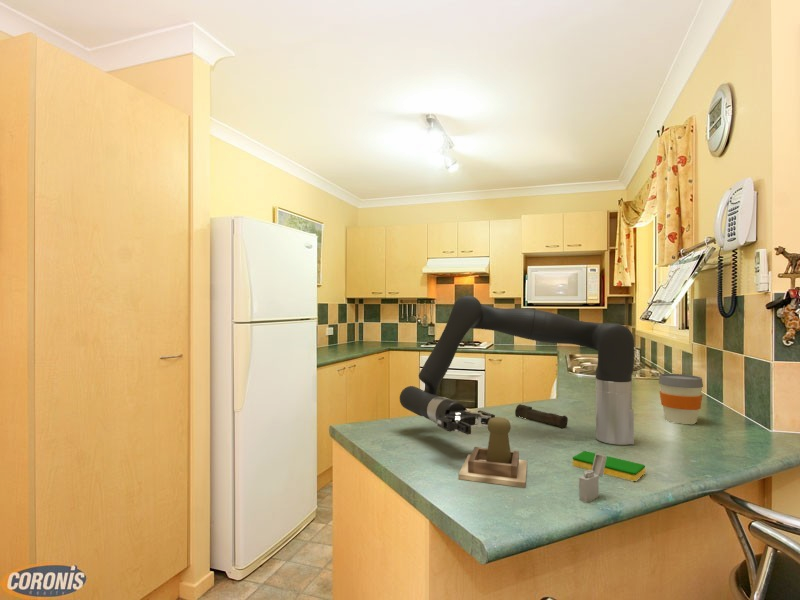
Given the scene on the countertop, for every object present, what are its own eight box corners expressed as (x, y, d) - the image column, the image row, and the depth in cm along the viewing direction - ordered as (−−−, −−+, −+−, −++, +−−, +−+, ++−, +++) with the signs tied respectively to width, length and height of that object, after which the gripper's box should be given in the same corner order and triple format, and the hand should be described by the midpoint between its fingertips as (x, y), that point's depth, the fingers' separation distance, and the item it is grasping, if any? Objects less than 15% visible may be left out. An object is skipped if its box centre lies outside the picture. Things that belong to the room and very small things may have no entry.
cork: (483, 469, 97) (483, 420, 97) (487, 460, 103) (487, 414, 103) (511, 472, 95) (511, 422, 95) (513, 463, 100) (513, 416, 101)
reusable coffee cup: (712, 426, 138) (712, 379, 138) (673, 426, 138) (673, 379, 138) (687, 416, 150) (686, 373, 150) (651, 416, 150) (650, 373, 151)
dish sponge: (635, 484, 92) (635, 472, 93) (572, 467, 102) (572, 457, 102) (645, 475, 97) (645, 464, 98) (584, 460, 107) (584, 450, 107)
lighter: (586, 502, 83) (586, 460, 83) (578, 499, 84) (578, 458, 84) (607, 493, 87) (607, 453, 87) (599, 490, 88) (599, 451, 88)
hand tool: (568, 427, 136) (569, 413, 136) (561, 429, 134) (561, 414, 134) (520, 415, 152) (520, 402, 152) (513, 417, 149) (513, 403, 149)
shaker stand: (527, 464, 103) (527, 449, 103) (525, 487, 89) (525, 470, 89) (468, 458, 107) (468, 443, 107) (458, 479, 94) (458, 462, 94)
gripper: (423, 401, 113) (459, 415, 98) (468, 396, 119) (508, 408, 105) (423, 430, 112) (459, 448, 98) (468, 423, 119) (507, 439, 105)
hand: (484, 427), depth 101 cm, fingers open, 8 cm apart
